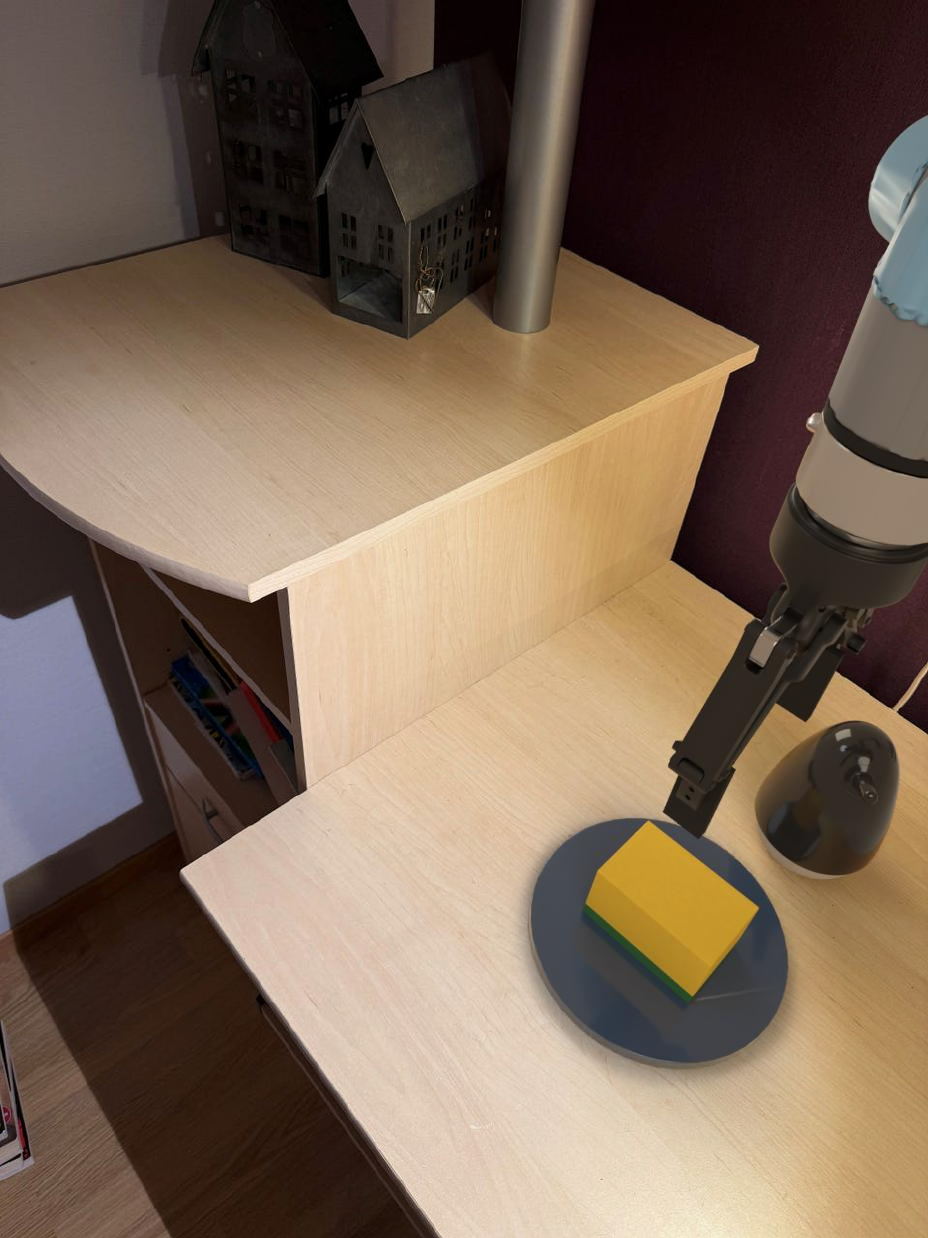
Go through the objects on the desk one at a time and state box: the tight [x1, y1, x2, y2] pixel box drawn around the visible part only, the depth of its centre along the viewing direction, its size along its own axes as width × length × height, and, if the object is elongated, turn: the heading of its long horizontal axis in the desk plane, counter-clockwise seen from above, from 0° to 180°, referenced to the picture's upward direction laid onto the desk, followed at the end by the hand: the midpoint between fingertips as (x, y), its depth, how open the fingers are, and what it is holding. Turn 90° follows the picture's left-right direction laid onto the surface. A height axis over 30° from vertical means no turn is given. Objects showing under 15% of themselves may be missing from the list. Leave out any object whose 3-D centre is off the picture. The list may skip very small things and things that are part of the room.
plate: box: [528, 817, 789, 1070], centre depth 71 cm, size 20×20×1 cm
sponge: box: [583, 821, 759, 1004], centre depth 68 cm, size 10×6×6 cm, turn 46°
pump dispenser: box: [754, 719, 901, 880], centre depth 73 cm, size 10×10×15 cm
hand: (740, 762), depth 60 cm, fingers open, 13 cm apart
